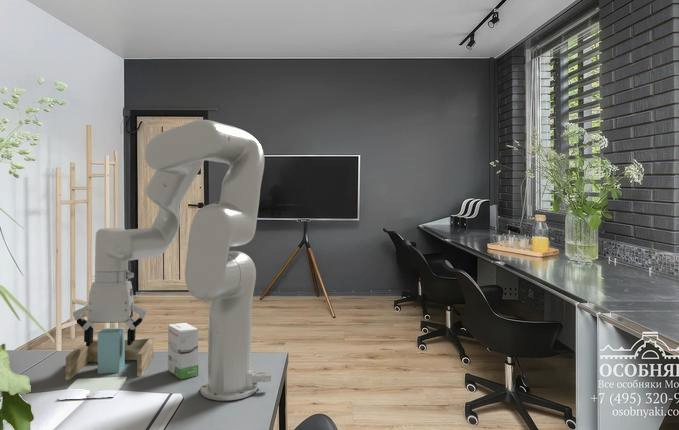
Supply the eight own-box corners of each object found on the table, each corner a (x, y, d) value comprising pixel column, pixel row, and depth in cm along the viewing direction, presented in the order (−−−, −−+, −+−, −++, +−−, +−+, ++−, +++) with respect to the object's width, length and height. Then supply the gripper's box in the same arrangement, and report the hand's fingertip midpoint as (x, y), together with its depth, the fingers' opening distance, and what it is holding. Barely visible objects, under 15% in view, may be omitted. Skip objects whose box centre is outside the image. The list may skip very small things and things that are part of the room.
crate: (153, 357, 129) (153, 337, 129) (141, 376, 115) (141, 353, 115) (86, 360, 126) (86, 340, 126) (65, 379, 112) (65, 356, 112)
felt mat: (126, 379, 113) (126, 376, 113) (113, 397, 103) (113, 394, 103) (77, 381, 111) (77, 379, 111) (58, 400, 101) (58, 397, 101)
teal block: (124, 365, 123) (124, 327, 122) (119, 372, 118) (119, 332, 118) (103, 366, 122) (104, 328, 122) (97, 373, 117) (97, 333, 117)
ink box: (199, 375, 116) (199, 328, 116) (179, 380, 113) (179, 331, 113) (185, 366, 123) (186, 321, 123) (166, 370, 120) (167, 323, 120)
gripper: (150, 274, 125) (149, 339, 125) (79, 274, 121) (78, 340, 122) (144, 279, 117) (142, 348, 118) (68, 279, 114) (67, 349, 115)
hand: (110, 344), depth 120 cm, fingers open, 9 cm apart
